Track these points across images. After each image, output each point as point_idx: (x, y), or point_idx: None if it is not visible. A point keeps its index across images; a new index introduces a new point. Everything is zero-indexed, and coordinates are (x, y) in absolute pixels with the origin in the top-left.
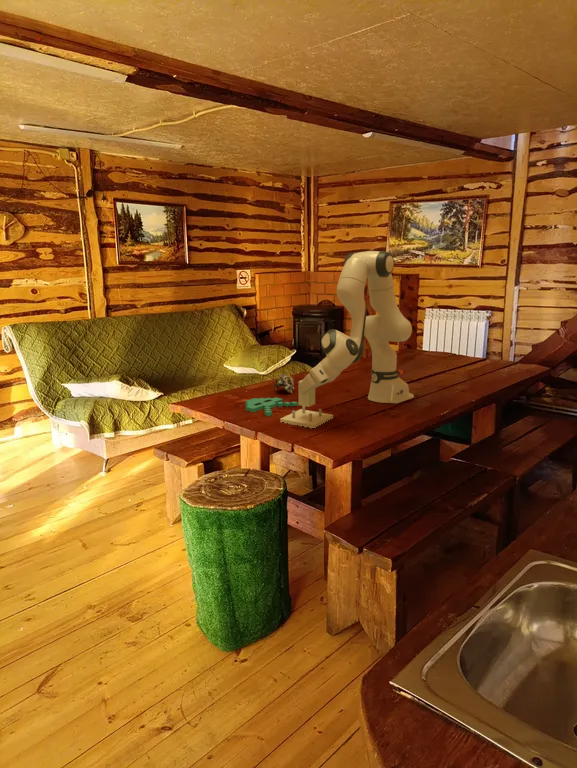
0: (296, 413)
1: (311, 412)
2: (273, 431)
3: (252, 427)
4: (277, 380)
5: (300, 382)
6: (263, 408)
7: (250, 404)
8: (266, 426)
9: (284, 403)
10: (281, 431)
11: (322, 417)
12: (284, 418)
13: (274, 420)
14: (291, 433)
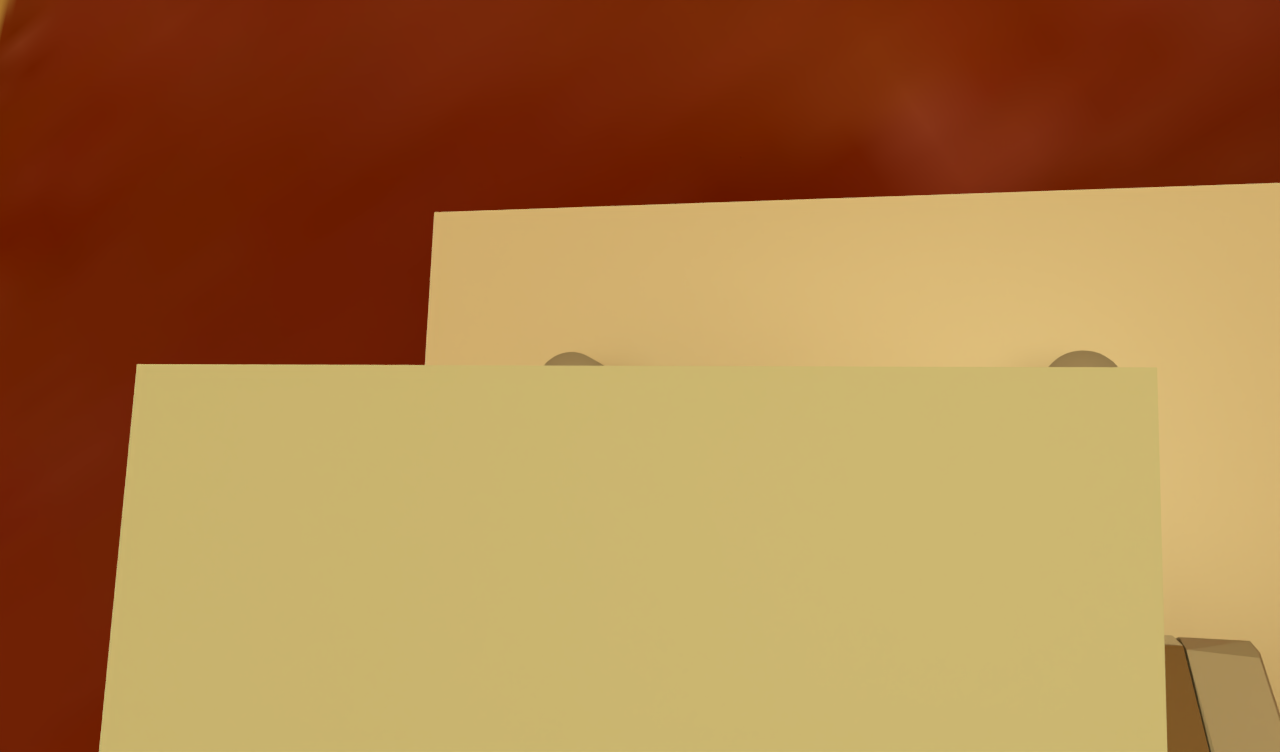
0: (914, 293)
1: (1196, 562)
2: (25, 407)
3: (54, 14)
4: None
5: (160, 540)
6: None
7: None
8: (178, 164)
9: None
10: (72, 523)
11: None
12: (486, 270)
13: (504, 79)
14: (54, 728)
